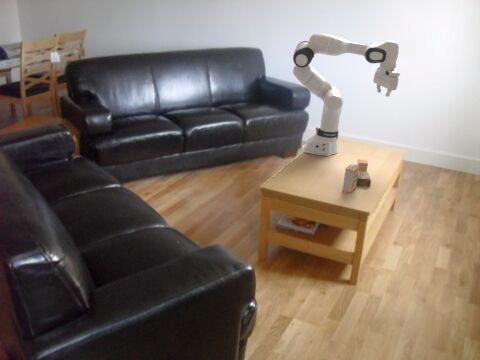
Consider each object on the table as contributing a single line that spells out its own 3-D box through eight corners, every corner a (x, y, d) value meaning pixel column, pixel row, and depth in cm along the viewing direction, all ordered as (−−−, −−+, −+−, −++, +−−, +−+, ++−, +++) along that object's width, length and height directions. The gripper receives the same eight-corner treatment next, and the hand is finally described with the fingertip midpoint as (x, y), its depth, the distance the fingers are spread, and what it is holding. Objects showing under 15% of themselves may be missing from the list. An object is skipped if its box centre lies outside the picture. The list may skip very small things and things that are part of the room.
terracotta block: (357, 174, 275) (358, 162, 273) (356, 170, 280) (357, 159, 277) (366, 174, 275) (367, 163, 272) (365, 171, 280) (366, 160, 277)
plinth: (349, 184, 261) (350, 177, 260) (347, 176, 271) (348, 170, 270) (369, 186, 260) (371, 179, 259) (367, 178, 270) (368, 171, 269)
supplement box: (350, 193, 251) (354, 170, 246) (342, 191, 253) (345, 168, 248) (356, 188, 258) (359, 165, 252) (347, 186, 260) (351, 163, 255)
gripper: (372, 66, 284) (369, 90, 290) (391, 74, 266) (387, 98, 272) (382, 66, 286) (378, 89, 291) (401, 74, 268) (397, 98, 274)
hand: (382, 94), depth 282 cm, fingers open, 8 cm apart
